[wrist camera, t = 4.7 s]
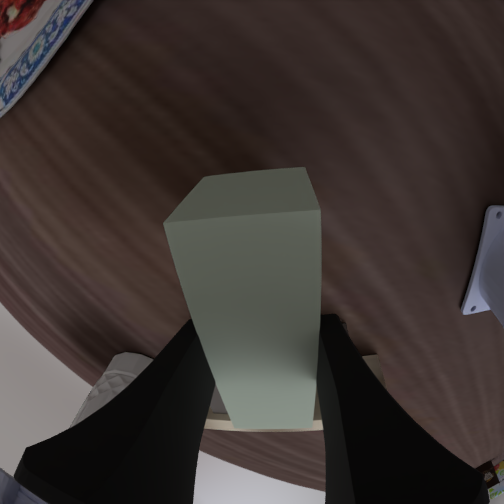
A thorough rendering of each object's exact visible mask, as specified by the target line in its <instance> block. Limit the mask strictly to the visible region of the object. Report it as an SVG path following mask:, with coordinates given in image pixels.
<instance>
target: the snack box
mask: <svg viewBox="0 0 504 504" xmlns="http://www.w3.org/2000/svg"><path fill="white" fill-rule="evenodd" d="M494 469H495V471H496V474H497V476H498V479H499V481H500V483H499V484H497V485H496V486H494V487H492V488H491V489H489V492H490V498H491V499H493V498H495V497H497V496H499V495H501V494H502V493H504V460H503V461H502V462H500V463H499V464H497V465H496V466H494Z"/></svg>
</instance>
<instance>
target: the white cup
mask: <svg viewBox="0 0 504 504" xmlns="http://www.w3.org/2000/svg"><path fill="white" fill-rule="evenodd" d="M153 360H154V359H151V358H149V357H146V356H144V355H142V354H137V353H130V352H124V353H120V354H117V355H115V356H114V357H113V359H112V361H111V362H110V364H109V365H108V367H107V369H106V370H105V372H104V373H103V375H102V377H101V378H100V379H98V381H97V383H96V384H95V386H94V387H93V388H92V390H91V391H90V393H89V395H88V397H87V398H86V400H85V401H84V403H83V405H82V406H81V408H80V410H79V412H78V413H77V415H76V417H75V419H74V420H73V422H72V424H71V426H70V428H71V427H72V426H74V425H76V424H78V423H79V422H81V421H82V420H84V419H85V418H87V417H88V416H90V415H91V414H93V413H94V412H96V411H97V410H98V409H100V408H101V407H103V406H104V405H105V404H107V403H108V402H109V401H110V400H112V399H113V398H114V397H115V396H117V395H118V394H119V393H120V392H121V391H122V390H124V389H125V388H126V387H127V386H128V385H129V384H130V383H131V382H132V381H133V380H134V379H135V378H136V377H137V376H138V375H139V374H140V373H141V372H142V371H143V370H144V369H145V368H146V367H147V366H148V365H149V364H150V363H151V362H152V361H153Z"/></svg>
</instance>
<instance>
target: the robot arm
mask: <svg viewBox="0 0 504 504" xmlns="http://www.w3.org/2000/svg"><path fill="white" fill-rule="evenodd" d="M497 213H498V215H497ZM496 215H497V216H496ZM490 309H491V310H492V312H493V313H494V315H495V316H496V317H497V319H498V320H499V322H500V323H501V325H502V326H503V328H504V206H500V205H492V206H489V207H488V208H487V210H486V213H485V219H484V225H483V230H482V235H481V240H480V244H479V248H478V253H477V257H476V261H475V264H474V268H473V272H472V275H471V279H470V282H469V285H468V289H467V292H466V295H465V298H464V301H463V304H462V307H461V312H462V313H463V314H464V315H467V314H472V313H477V312H482V311H486V310H490ZM215 384H216V382H215V379H214V376H213V374H212V371H211V369H210V366H209V363H208V361H207V358H206V355H205V353H204V350H203V347H202V344H201V342H200V339H199V336H198V334H197V332H196V329H195V326H194V323H193V321H192V319H189V320H188V321H187V322H186V324H185V325H184V326H183V327H182V328H181V329H180V330H179V331H178V333H177V334H176V335H175V336H174V337H173V338H172V340H171V341H170V342H169V343H168V344H167V345H166V346H165V348H164V349H163V350H162V351H161V352H160V353H159V354H158V355H157V356H156V358H155V359H154V360H153V361H152V362H151V363H150V364H149V365H148V366H147V367H146V368H145V369H144V370H143V371H142V372H141V373H140V374H139V375H138V376H137V377H136V378H135V379H134V380H133V381H132V382H131V383H130V384H129V385H128V386H127V387H126V388H125V389H124V390H122V391H121V392H120V393H119V394H118V395H117V396H115V397H114V398H113V399H112V400H110V401H109V402H108V403H107V404H105V405H104V406H103V407H101V408H100V409H98V410H97V411H96V412H94V413H93V414H91V415H90V416H88V417H87V418H85V419H84V420H82V421H81V422H79V423H78V424H76V425H74V426H72V427H71V428H69V429H67V430H65V431H64V432H61V433H59V434H58V435H55V436H53V437H51V438H49V439H47V440H45V441H42V442H40V443H37V444H35V445H32V446H30V447H27V448H26V449H25V452H24V454H23V456H22V458H21V460H20V462H19V464H18V467H17V469H16V471H15V474H14V477H12V476H11V475H9V474H8V473H6V472H5V471H4V470H3V469H2V468H0V504H193V497H194V496H193V495H194V485H195V476H196V467H197V460H198V453H199V447H200V442H201V437H202V434H203V430H204V426H205V422H206V419H207V415H208V411H209V408H210V404H211V400H212V396H213V392H214V388H215ZM316 385H317V391H318V398H319V404H320V411H321V418H322V425H323V432H324V439H325V451H326V498H325V501H326V502H325V504H489V502H490V500H489V494H488V489H487V485H486V482H485V480H484V477H483V474H482V473H481V472H479V471H478V470H476V469H474V468H473V467H471V466H470V465H468V464H467V463H465V462H464V461H462V460H461V459H459V458H458V457H457V456H455V455H454V454H453V453H451V452H450V451H449V450H447V449H446V448H445V447H444V446H442V445H441V444H440V443H439V442H437V441H436V440H435V439H434V438H433V437H432V436H431V435H430V434H428V433H427V432H426V431H425V430H424V429H423V428H422V427H421V426H420V425H418V424H417V423H416V422H415V421H414V420H413V419H412V418H411V417H410V416H409V415H408V414H407V413H406V411H405V410H404V409H403V408H402V407H401V406H400V405H399V404H398V403H397V402H396V401H395V399H394V398H393V397H392V396H391V395H390V394H389V392H388V391H387V390H386V389H385V387H384V386H383V385H382V384H381V382H380V381H379V380H378V378H377V377H376V376H375V375H374V373H373V372H372V370H371V369H370V368H369V366H368V365H367V363H366V362H365V360H364V359H363V357H362V356H361V355H360V353H359V352H358V350H357V349H356V347H355V345H354V344H353V342H352V340H351V339H350V337H349V336H348V334H347V332H346V330H345V329H344V327H343V325H342V323H341V321H340V319H339V317H338V316H337V315H336V314H327V315H320V330H319V345H318V362H317V377H316Z"/></svg>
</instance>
